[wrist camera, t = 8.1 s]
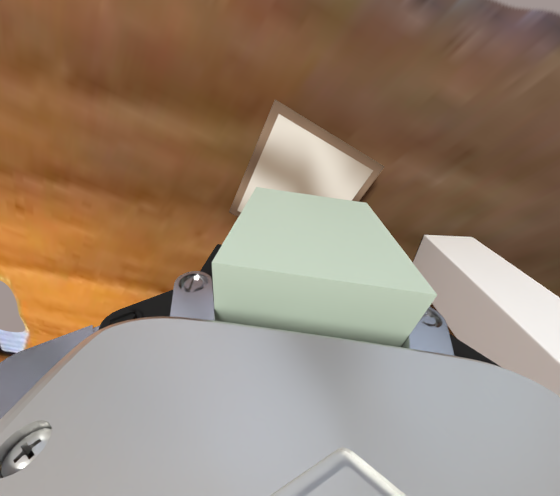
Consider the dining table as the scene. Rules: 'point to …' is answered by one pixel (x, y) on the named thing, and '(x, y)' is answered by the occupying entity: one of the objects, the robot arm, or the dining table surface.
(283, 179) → the plinth
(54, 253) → the dining table surface
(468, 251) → the milk
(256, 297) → the block
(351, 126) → the dining table surface
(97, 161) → the dining table surface
